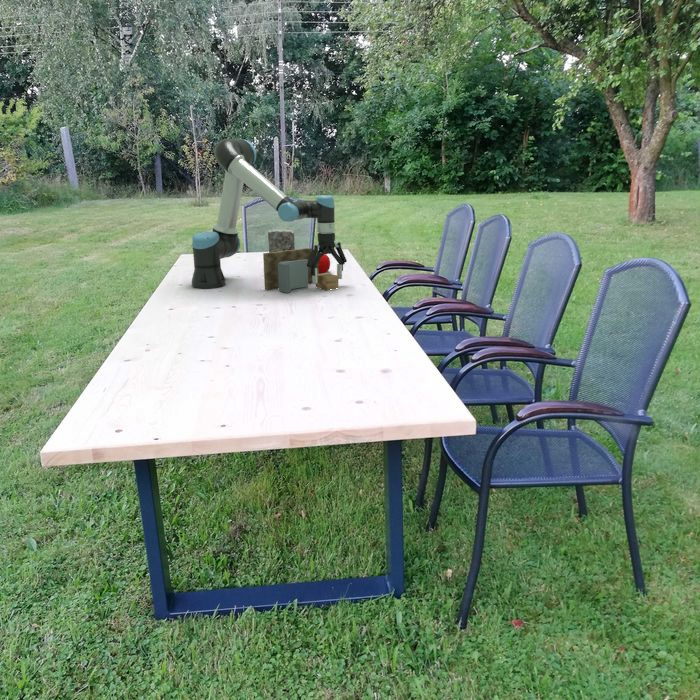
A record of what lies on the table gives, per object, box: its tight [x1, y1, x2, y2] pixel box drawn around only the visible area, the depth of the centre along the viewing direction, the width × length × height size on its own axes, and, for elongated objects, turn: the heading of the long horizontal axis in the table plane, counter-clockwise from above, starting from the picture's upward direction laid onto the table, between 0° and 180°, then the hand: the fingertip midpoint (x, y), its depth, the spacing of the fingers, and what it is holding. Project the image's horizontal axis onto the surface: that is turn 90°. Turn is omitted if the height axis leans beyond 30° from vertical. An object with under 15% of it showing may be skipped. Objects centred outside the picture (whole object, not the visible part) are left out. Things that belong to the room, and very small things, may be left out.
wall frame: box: [262, 247, 319, 291], centre depth 283 cm, size 28×2×16 cm, turn 128°
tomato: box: [319, 254, 331, 274], centre depth 313 cm, size 11×13×10 cm
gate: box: [278, 259, 309, 294], centre depth 275 cm, size 15×6×12 cm, turn 128°
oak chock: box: [315, 272, 339, 291], centre depth 280 cm, size 9×6×6 cm, turn 38°
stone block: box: [267, 229, 296, 263], centre depth 322 cm, size 13×7×20 cm, turn 96°
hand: (327, 280), depth 279 cm, fingers open, 13 cm apart
